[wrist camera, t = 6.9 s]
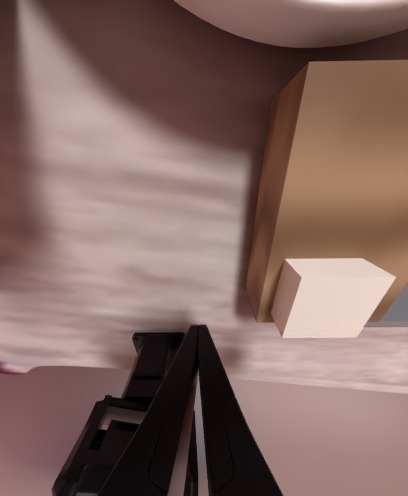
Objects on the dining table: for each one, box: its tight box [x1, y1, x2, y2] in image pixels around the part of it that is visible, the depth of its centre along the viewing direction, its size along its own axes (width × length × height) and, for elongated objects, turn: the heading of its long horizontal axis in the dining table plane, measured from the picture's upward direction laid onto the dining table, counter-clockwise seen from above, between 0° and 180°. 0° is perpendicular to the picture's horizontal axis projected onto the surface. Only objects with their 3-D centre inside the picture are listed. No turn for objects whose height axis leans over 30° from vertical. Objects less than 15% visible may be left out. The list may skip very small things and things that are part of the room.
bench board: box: [245, 60, 408, 322], centre depth 11 cm, size 15×10×4 cm, turn 1°
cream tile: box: [271, 258, 396, 338], centre depth 10 cm, size 5×5×2 cm
